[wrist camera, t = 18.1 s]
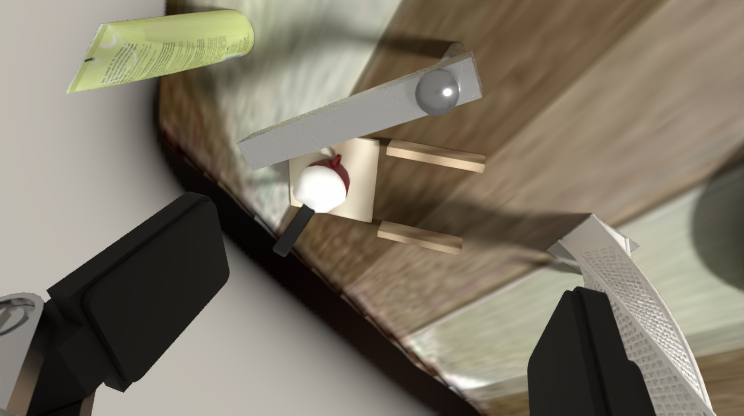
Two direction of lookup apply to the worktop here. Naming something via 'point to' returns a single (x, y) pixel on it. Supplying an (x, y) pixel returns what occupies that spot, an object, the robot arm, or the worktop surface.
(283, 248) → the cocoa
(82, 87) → the tube
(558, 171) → the worktop surface
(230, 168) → the worktop surface
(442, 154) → the holder
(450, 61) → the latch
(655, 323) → the skyscraper
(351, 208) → the pad
